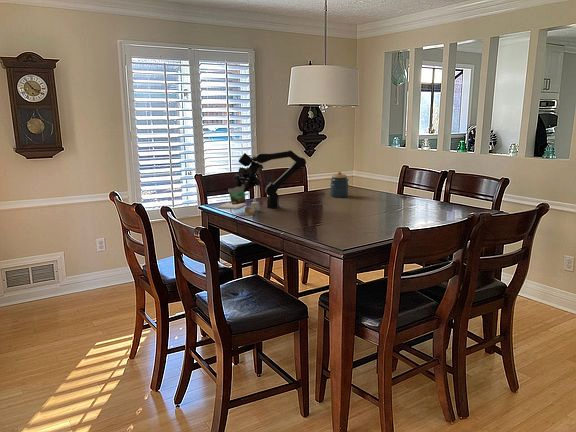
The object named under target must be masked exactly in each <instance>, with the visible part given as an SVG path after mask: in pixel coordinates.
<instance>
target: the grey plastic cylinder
mask: <svg viewBox="0 0 576 432" xmlns="http://www.w3.org/2000/svg"><path fill="white" fill-rule="evenodd" d="M250 206H254V207H255V213H257V212H260V202H259V201H252V202H250ZM256 211H257V212H256Z"/></svg>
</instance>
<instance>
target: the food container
mask: <svg viewBox="0 0 576 432" xmlns="http://www.w3.org/2000/svg"><path fill="white" fill-rule="evenodd" d="M243 184H244V183H243ZM243 184H242V186H240V187H237V186H235V187H233V188H228V190H227V192H228V194H229V198H230V201H231V202H230V203H232V204H233V205H234V204H241V203H246V192H244V189H245V187H246V185H245V184H244V185H243Z"/></svg>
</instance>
